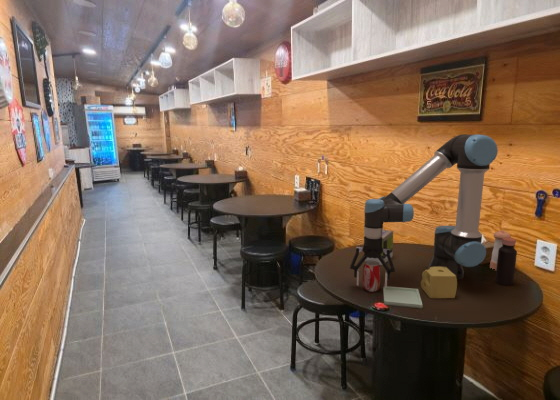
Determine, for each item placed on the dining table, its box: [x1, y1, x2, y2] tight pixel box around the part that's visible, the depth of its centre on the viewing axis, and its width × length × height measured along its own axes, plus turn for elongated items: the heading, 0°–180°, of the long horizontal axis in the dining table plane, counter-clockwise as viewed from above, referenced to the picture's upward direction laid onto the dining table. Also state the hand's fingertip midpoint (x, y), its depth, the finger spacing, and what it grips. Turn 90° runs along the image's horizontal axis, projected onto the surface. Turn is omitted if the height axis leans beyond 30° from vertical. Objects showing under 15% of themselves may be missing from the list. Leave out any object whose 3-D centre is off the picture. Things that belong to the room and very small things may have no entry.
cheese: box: [420, 267, 458, 299], centre depth 146 cm, size 10×11×10 cm
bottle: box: [494, 237, 518, 286], centre depth 154 cm, size 7×7×20 cm
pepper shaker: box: [489, 230, 512, 271], centre depth 170 cm, size 7×7×19 cm
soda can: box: [362, 260, 381, 293], centre depth 151 cm, size 7×7×12 cm
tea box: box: [364, 229, 394, 266], centre depth 185 cm, size 15×10×15 cm, turn 144°
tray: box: [382, 285, 423, 309], centre depth 143 cm, size 14×14×2 cm
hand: (371, 285), depth 152 cm, fingers open, 11 cm apart
